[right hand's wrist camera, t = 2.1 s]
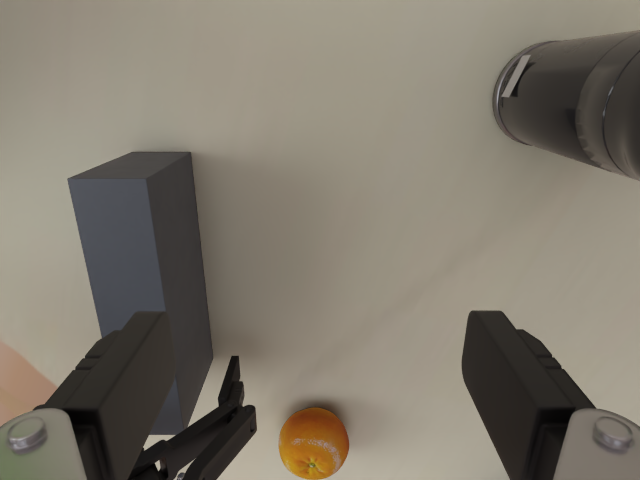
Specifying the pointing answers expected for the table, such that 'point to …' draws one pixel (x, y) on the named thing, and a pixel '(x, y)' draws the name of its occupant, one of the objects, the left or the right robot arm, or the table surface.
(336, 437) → the fruit
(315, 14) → the table surface
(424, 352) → the table surface
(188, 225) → the box
